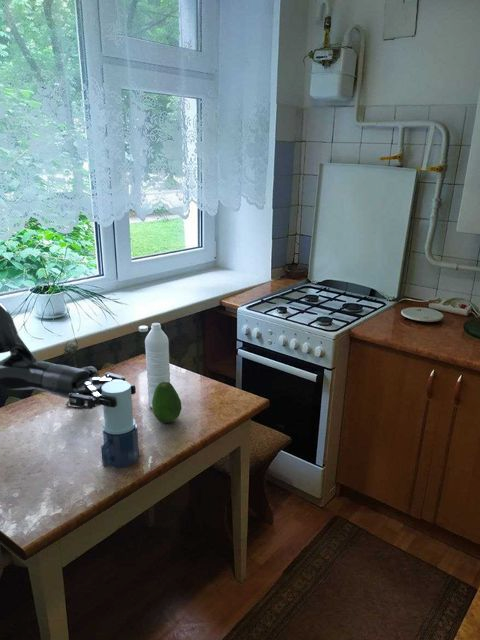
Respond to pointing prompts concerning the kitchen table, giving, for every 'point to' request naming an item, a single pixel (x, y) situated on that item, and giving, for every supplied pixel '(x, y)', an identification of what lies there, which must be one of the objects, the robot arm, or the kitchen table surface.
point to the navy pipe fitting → (120, 449)
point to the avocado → (166, 403)
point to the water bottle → (156, 358)
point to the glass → (118, 408)
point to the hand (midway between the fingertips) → (125, 396)
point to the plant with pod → (72, 349)
